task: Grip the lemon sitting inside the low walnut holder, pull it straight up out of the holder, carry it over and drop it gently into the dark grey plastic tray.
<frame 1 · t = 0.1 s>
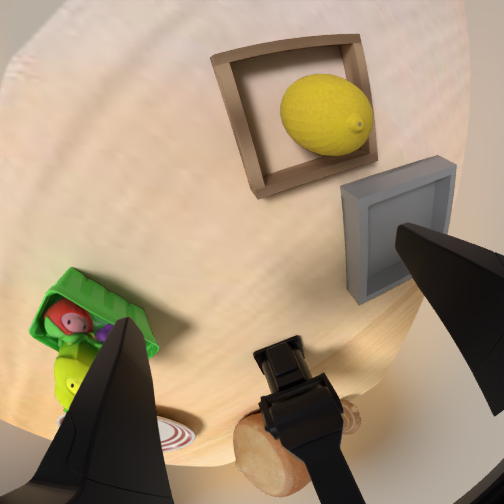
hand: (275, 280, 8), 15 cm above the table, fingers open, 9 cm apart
fruit basket: (95, 305, 25), on the table
dinner plate: (124, 424, 42), on the table
lemon holder: (299, 107, 19), on the table
jug: (287, 412, 53), on the table
tray: (395, 223, 29), on the table
lemon: (298, 106, 19), resting in lemon holder
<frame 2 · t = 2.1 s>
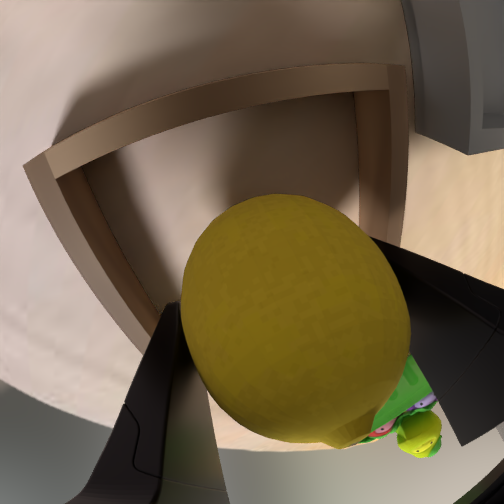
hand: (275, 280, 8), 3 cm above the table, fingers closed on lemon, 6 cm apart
fruit basket: (386, 379, 26), on the table
lemon holder: (250, 231, 10), on the table
tray: (479, 16, 6), on the table
lemon: (249, 229, 11), resting in lemon holder, touching gripper
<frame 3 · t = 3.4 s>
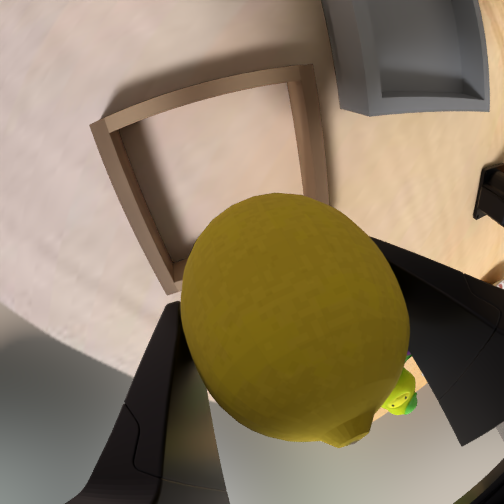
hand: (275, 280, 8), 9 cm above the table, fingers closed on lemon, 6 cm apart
fruit basket: (360, 338, 31), on the table
lemon holder: (222, 175, 16), on the table
tray: (405, 16, 11), on the table
lemon: (248, 228, 11), point 6 cm above the table, touching gripper
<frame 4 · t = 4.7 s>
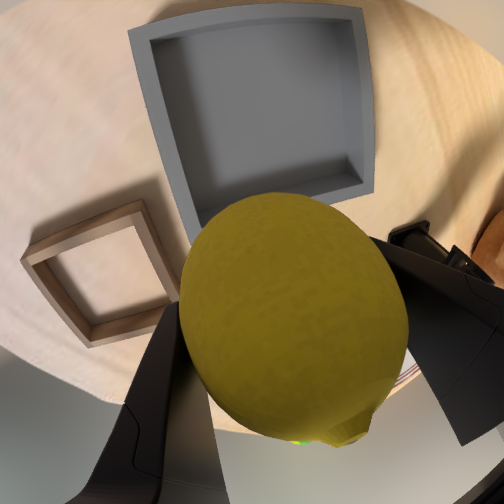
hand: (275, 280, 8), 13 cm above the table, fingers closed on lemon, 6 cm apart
dinner plate: (403, 353, 51), on the table
lemon holder: (108, 278, 21), on the table
jug: (499, 210, 33), on the table
tray: (262, 108, 17), on the table
lemon: (247, 228, 11), point 10 cm above the table, touching gripper
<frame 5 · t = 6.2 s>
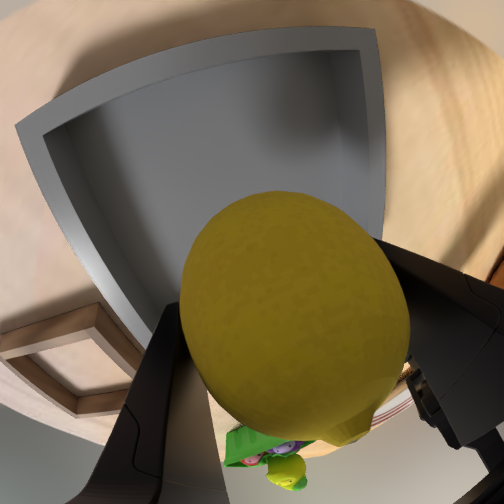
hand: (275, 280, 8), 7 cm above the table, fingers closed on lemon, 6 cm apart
fruit basket: (263, 423, 34), on the table
dinner plate: (406, 385, 47), on the table
lemon holder: (83, 365, 18), on the table
tray: (228, 191, 13), on the table
lemon: (248, 227, 11), point 4 cm above the table, touching gripper
when the fingers open (6 cm above the table, at t = 7.2 s): lemon drops 2 cm, resting on tray.
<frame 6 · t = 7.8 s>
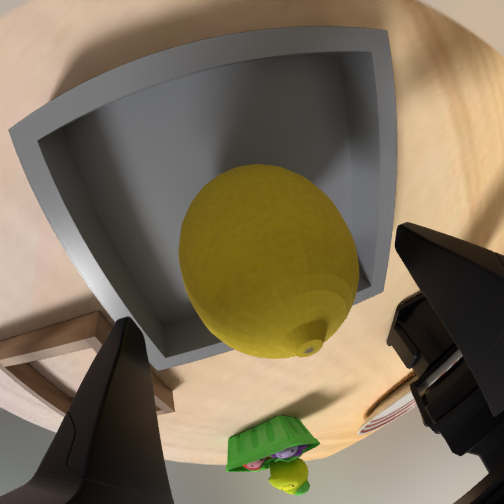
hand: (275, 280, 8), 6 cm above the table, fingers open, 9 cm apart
fruit basket: (265, 428, 33), on the table
dinner plate: (408, 388, 46), on the table
lemon holder: (83, 372, 17), on the table
tray: (233, 198, 13), on the table
lemon: (238, 199, 13), resting on tray
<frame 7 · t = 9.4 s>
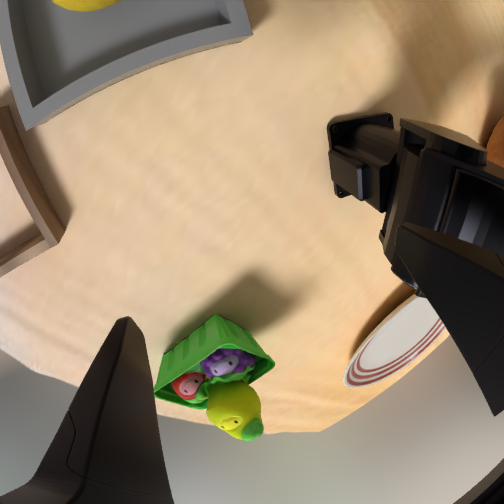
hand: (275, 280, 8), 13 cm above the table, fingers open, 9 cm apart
fruit basket: (207, 344, 30), on the table
dinner plate: (402, 326, 42), on the table
jug: (501, 124, 23), on the table
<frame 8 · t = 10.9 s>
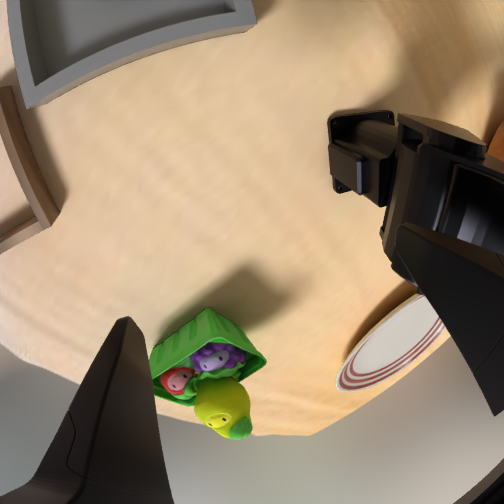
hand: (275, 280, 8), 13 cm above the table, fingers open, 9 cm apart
fruit basket: (198, 339, 29), on the table
dinner plate: (397, 331, 42), on the table
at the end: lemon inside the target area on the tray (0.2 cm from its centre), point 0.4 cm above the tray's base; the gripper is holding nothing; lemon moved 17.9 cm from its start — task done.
